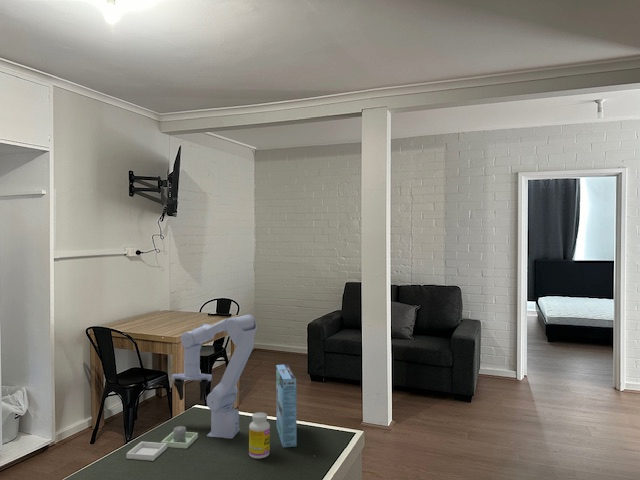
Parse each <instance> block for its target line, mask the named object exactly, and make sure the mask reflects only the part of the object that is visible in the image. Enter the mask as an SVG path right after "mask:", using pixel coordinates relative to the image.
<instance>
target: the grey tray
mask: <svg viewBox="0 0 640 480" xmlns="http://www.w3.org/2000/svg"><path fill="white" fill-rule="evenodd" d="M167 449H168V447H167V443H161V442H156V441H155V442H154V441H153V442H152V441H140V442H139V443H137V444H136V445H135V446H134V447H132V449H130V450H129V451H127V452H126V453H125V454H126V459H129V460H140V461H153V462H154V461H155V460H156V459H157V458H158V457H159V456H160V455H161V454H163V453H164V452H165V451H166V450H167Z"/></svg>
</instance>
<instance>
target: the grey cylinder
mask: <svg viewBox="0 0 640 480" xmlns="http://www.w3.org/2000/svg"><path fill="white" fill-rule="evenodd" d="M173 431H174V442H182V443H185V442H186V432H187V427H186V426H185V425H184V426H183V425H179V426H176V427H174V428H173Z"/></svg>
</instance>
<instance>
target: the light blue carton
mask: <svg viewBox="0 0 640 480" xmlns="http://www.w3.org/2000/svg"><path fill="white" fill-rule="evenodd" d="M275 367H276V368H275V369H276V370H275V372H276V377H275V378H276V382H275V383H276V384H275V385H276V389H275V390H276V393H275V394H276V397H275V398H276V430H277V433H278V436H279V439H280V443H281V446H282V448H292V447H297V431H298V430H297V429H298V428H297V378H296V376H295V375H294V372H293V371H292V369H291V368H290V365H289V364H277V365H275Z"/></svg>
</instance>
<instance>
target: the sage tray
mask: <svg viewBox="0 0 640 480" xmlns="http://www.w3.org/2000/svg"><path fill="white" fill-rule="evenodd" d="M198 438H199V432H194V431H193V432H191V431H186V442H185V443H182V442H174V430H173V431H172V432H171V433H169V435H167V436H165V438H163V440H161V441H160V443H167V448H172V449H173V448H174V449H188V448H189V447H190V446H192V444H193V443H194V442H195V441H196V440H197V439H198Z"/></svg>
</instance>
